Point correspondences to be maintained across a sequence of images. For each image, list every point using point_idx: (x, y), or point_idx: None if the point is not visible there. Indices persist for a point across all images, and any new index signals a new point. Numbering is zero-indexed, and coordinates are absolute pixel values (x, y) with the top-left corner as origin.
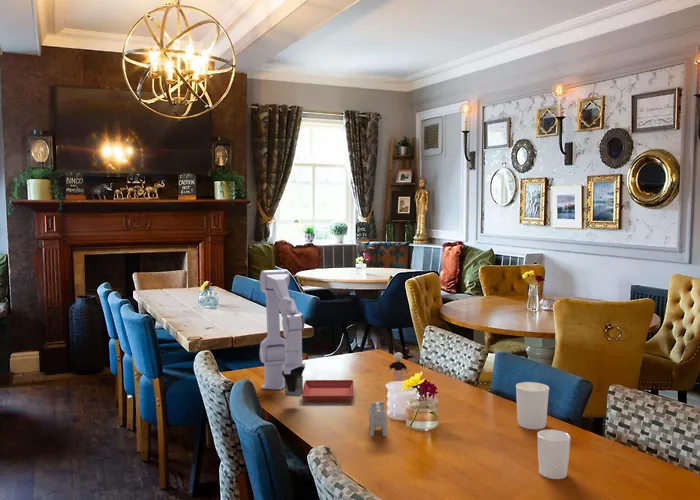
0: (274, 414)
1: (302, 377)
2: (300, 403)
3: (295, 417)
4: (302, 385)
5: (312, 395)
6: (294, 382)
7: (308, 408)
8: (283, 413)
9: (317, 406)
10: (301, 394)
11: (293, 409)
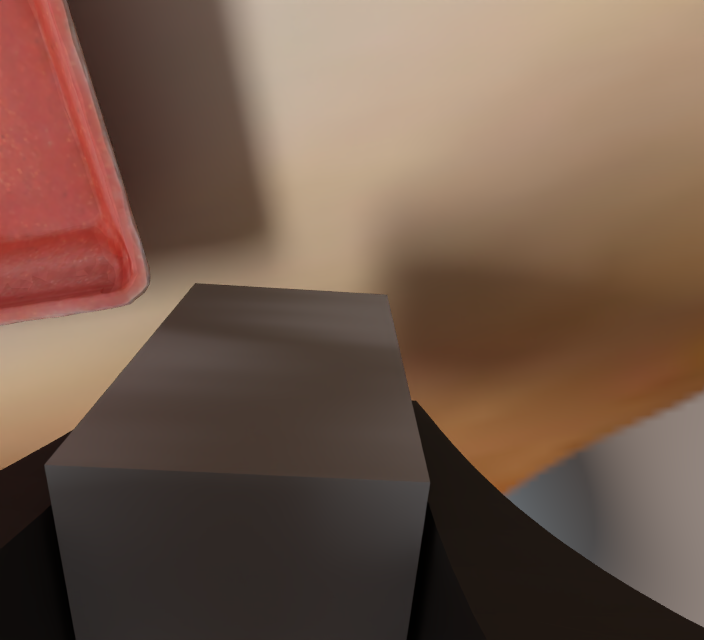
0: (584, 444)
1: (87, 436)
2: (196, 276)
3: (694, 218)
4: (165, 338)
5: (102, 130)
6: (511, 520)
7: (363, 133)
8: (554, 373)
9: (262, 20)
10: (266, 288)
11: (419, 304)
